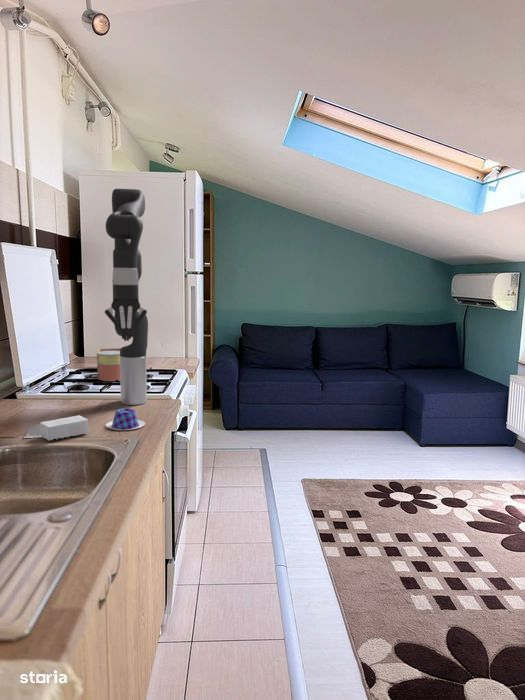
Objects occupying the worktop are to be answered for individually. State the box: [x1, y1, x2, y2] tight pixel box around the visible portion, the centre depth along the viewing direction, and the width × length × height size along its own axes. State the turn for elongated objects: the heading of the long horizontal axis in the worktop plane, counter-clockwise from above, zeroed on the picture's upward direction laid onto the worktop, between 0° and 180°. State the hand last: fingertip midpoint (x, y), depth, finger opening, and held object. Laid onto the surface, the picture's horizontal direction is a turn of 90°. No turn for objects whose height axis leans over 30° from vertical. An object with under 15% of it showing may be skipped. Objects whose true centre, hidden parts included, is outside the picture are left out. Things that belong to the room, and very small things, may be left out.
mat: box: [24, 426, 41, 436], centre depth 163 cm, size 10×14×1 cm
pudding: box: [105, 407, 146, 431], centre depth 171 cm, size 12×12×5 cm
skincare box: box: [39, 414, 89, 442], centre depth 159 cm, size 6×4×12 cm
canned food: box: [97, 350, 120, 381], centre depth 237 cm, size 11×11×12 cm
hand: (126, 340), depth 167 cm, fingers closed
